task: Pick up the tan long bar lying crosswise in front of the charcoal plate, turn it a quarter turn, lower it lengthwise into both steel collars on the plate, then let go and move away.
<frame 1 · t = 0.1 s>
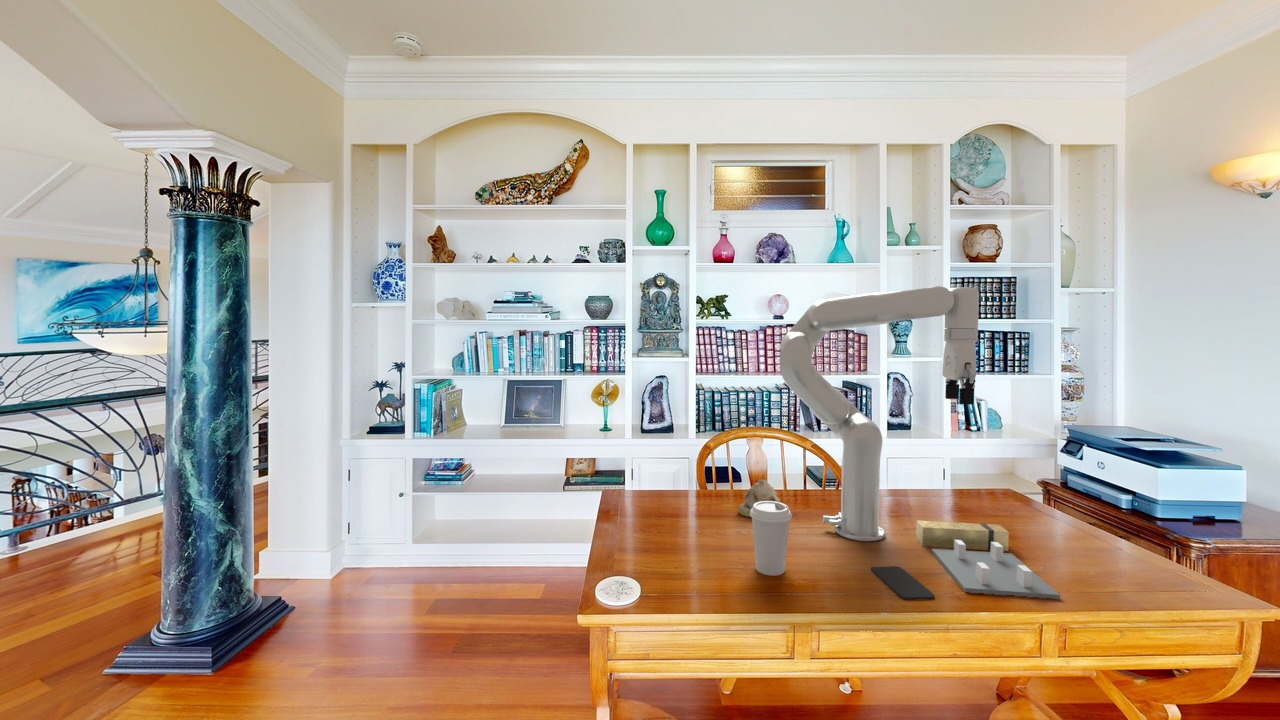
hand: (959, 401, 145), 37 cm above the table, tool pointing down, fingers open, 9 cm apart
tan long bar: (960, 545, 143), on the table
phone: (900, 585, 122), on the table
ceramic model: (760, 512, 170), on the table
coffee cup: (770, 570, 129), on the table
collar plate: (989, 573, 126), on the table
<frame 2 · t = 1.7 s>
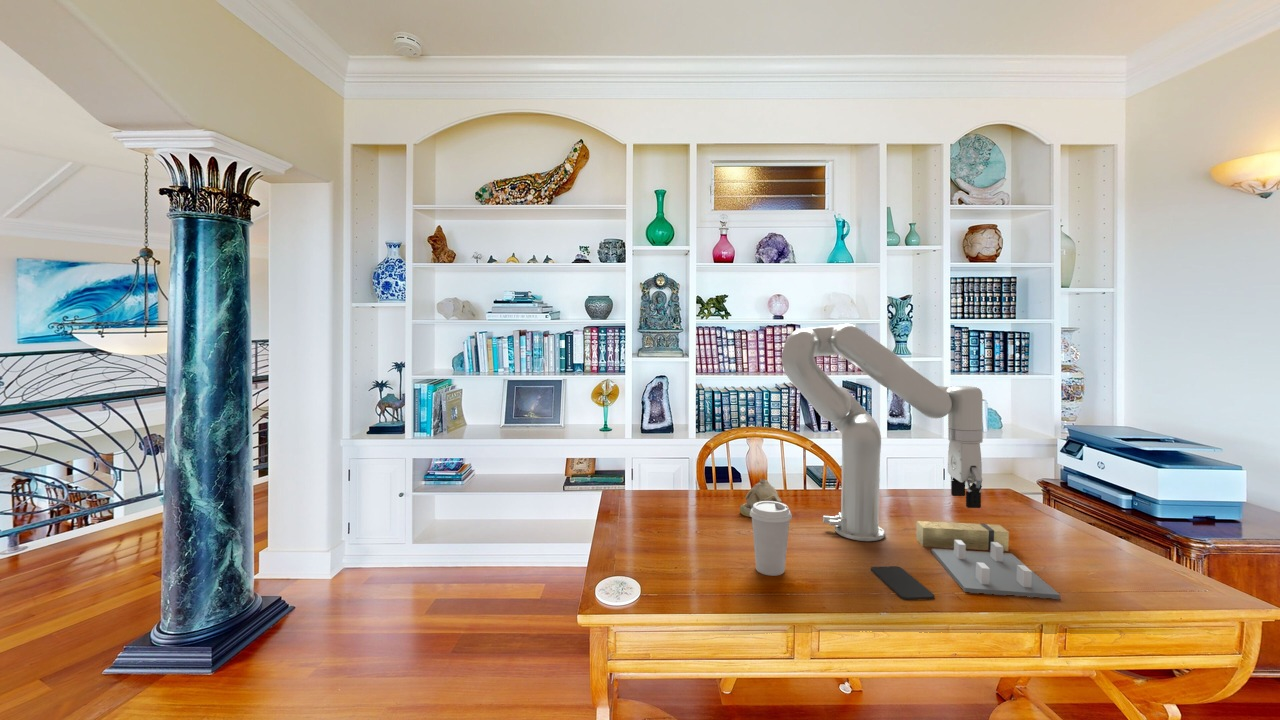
hand: (965, 501, 142), 11 cm above the table, tool pointing down, fingers open, 9 cm apart
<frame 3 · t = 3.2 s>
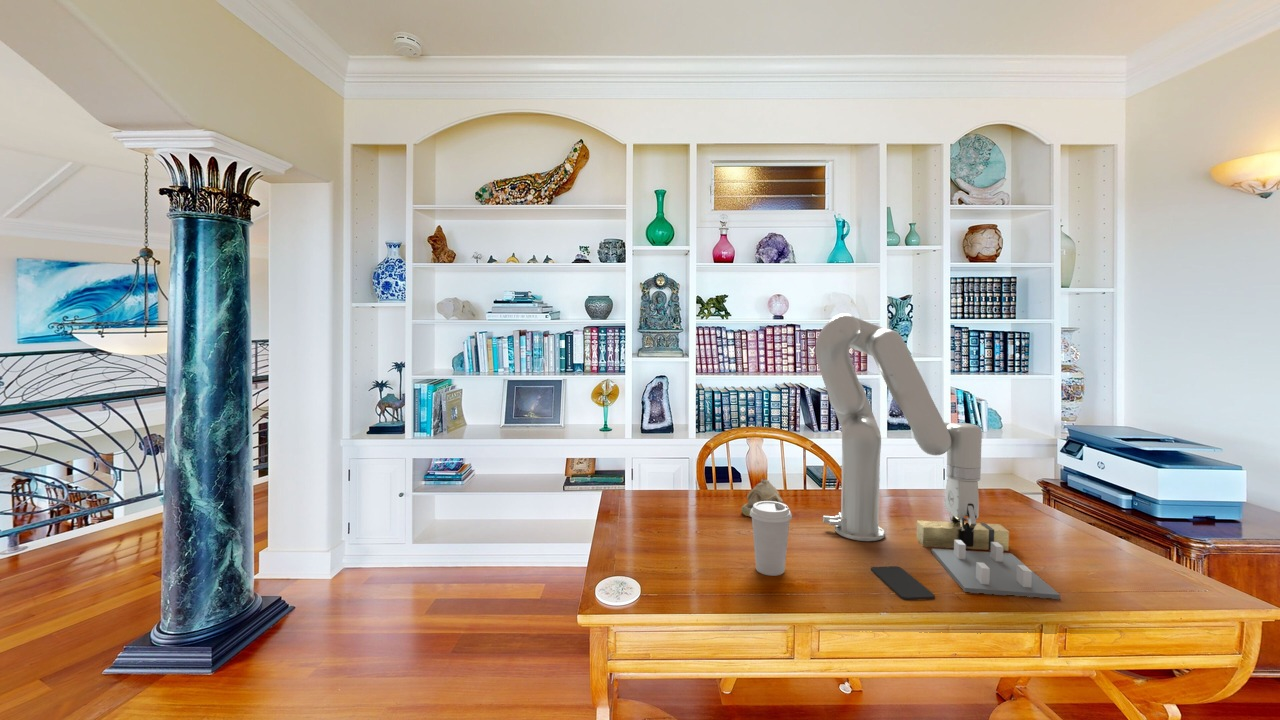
hand: (961, 540, 143), 1 cm above the table, tool pointing down, fingers closed on tan long bar, 5 cm apart
tan long bar: (961, 544, 143), on the table, touching gripper
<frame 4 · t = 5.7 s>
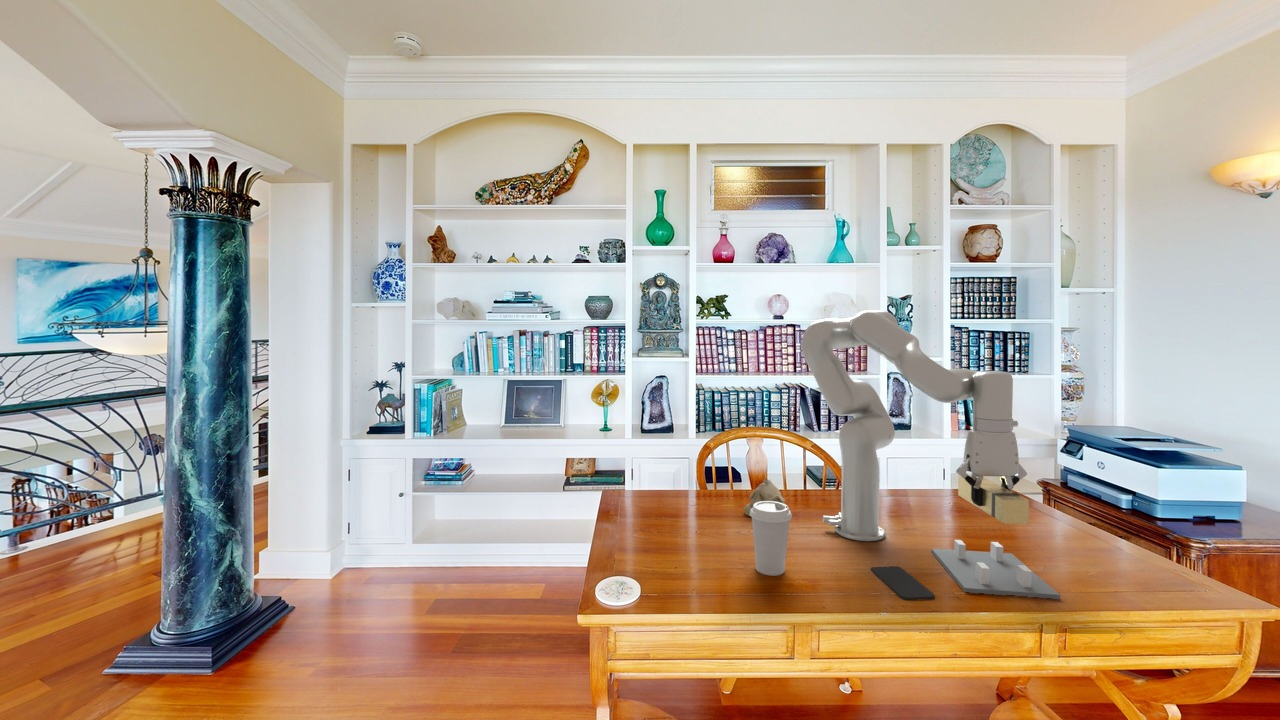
hand: (990, 503, 127), 16 cm above the table, tool pointing down, fingers closed on tan long bar, 5 cm apart
tan long bar: (990, 508, 127), point 15 cm above the table, touching gripper
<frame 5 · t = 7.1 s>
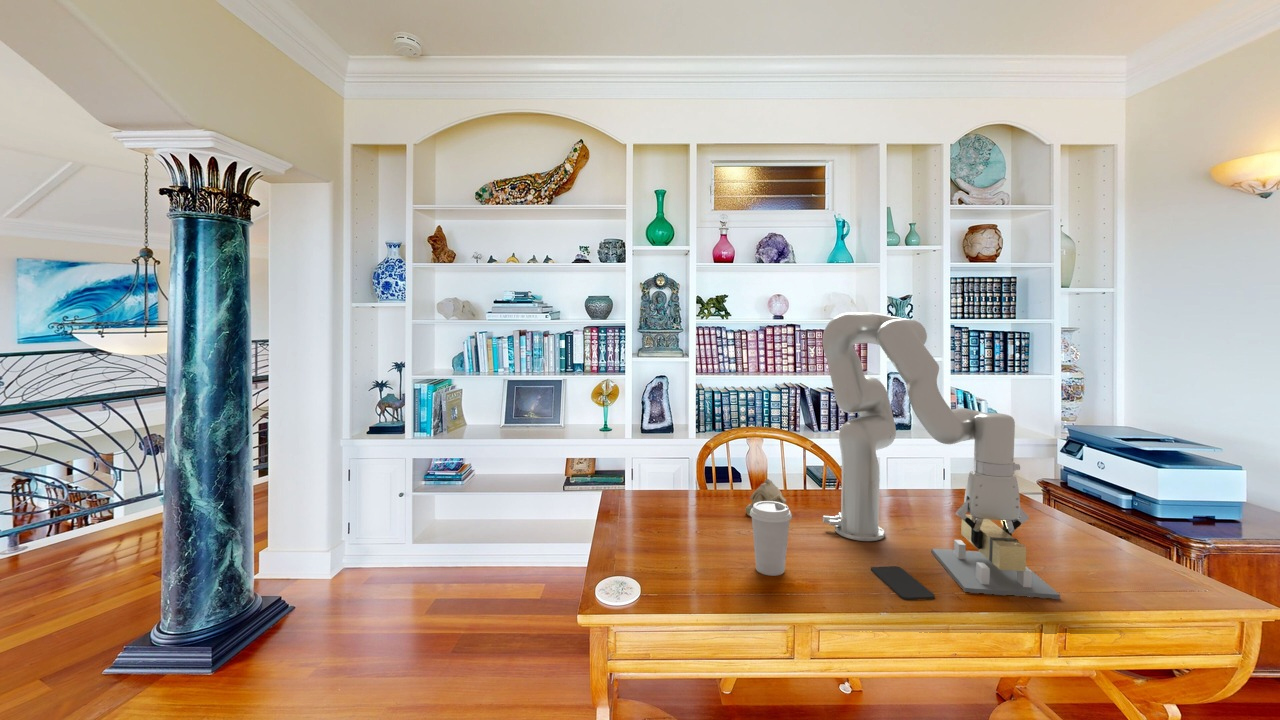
hand: (990, 546, 126), 6 cm above the table, tool pointing down, fingers closed on tan long bar, 5 cm apart
tan long bar: (990, 551, 126), point 5 cm above the table, touching gripper
when the fingers open (3 cm above the table, at t = 8.2 s): tan long bar stays where it is, resting on collar plate.
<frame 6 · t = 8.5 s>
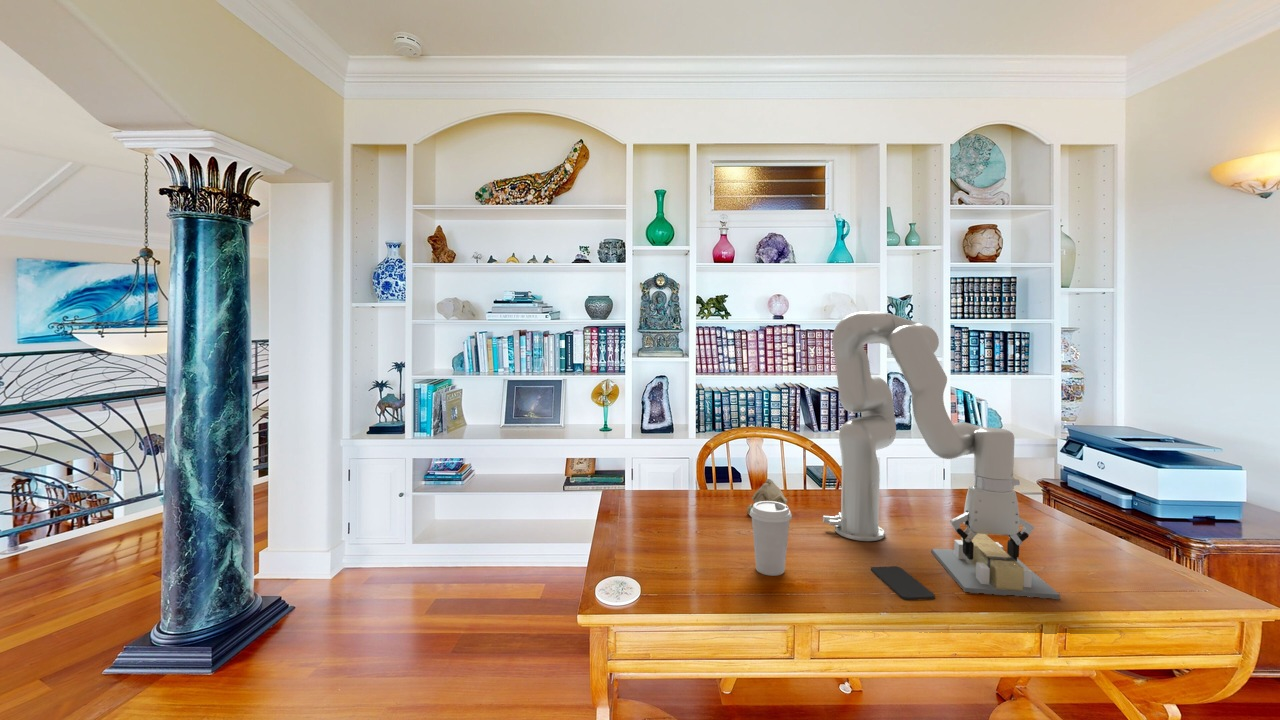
hand: (990, 558, 126), 4 cm above the table, tool pointing down, fingers open, 8 cm apart
tan long bar: (989, 569, 126), point 1 cm above the table, touching collar plate
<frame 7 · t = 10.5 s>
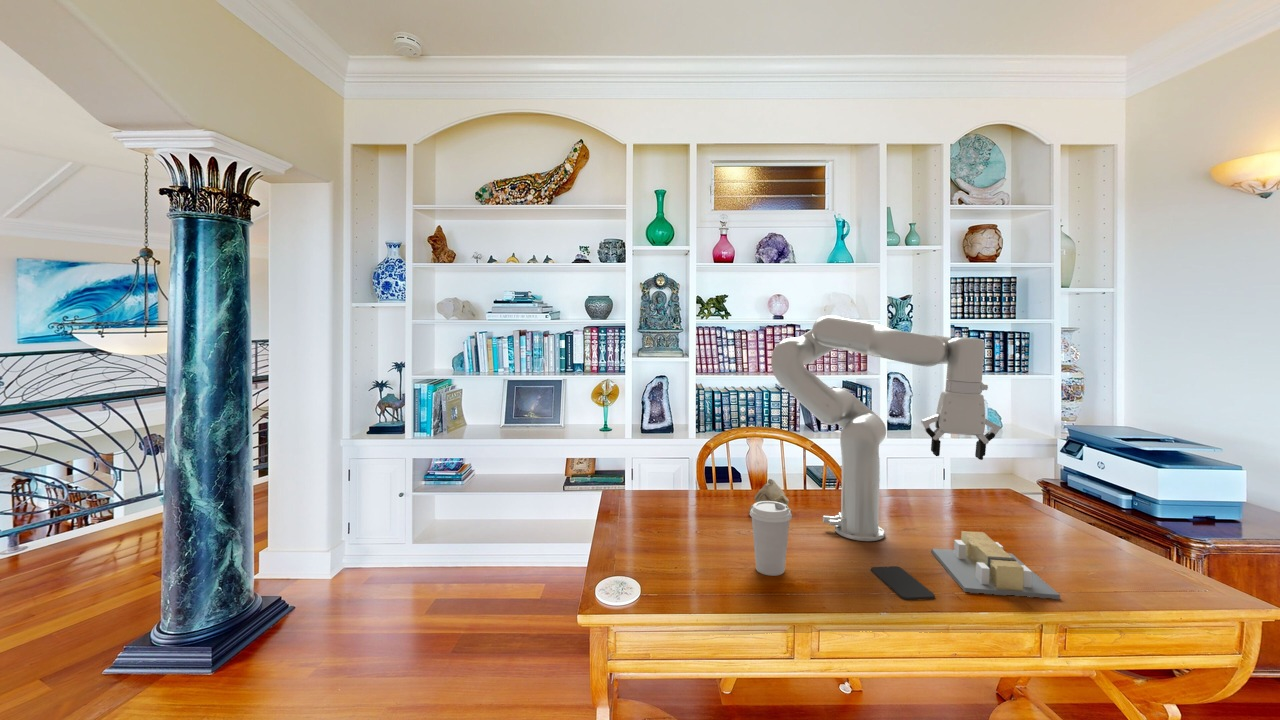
hand: (957, 456, 137), 24 cm above the table, tool pointing down, fingers open, 9 cm apart
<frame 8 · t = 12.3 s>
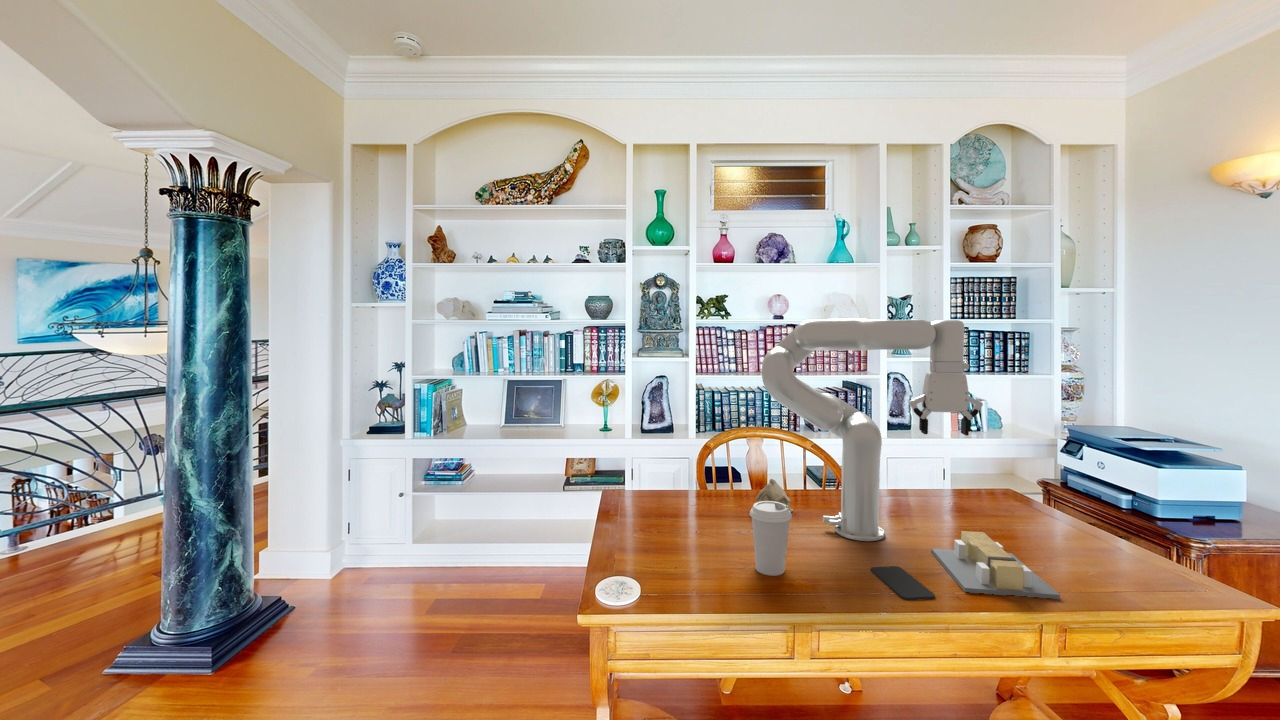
hand: (944, 433, 144), 28 cm above the table, tool pointing down, fingers open, 9 cm apart
at the end: tan long bar 0.1 cm from the target spot, point 1.0 cm above the table; tan long bar tilted 0°; the gripper is holding nothing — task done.
